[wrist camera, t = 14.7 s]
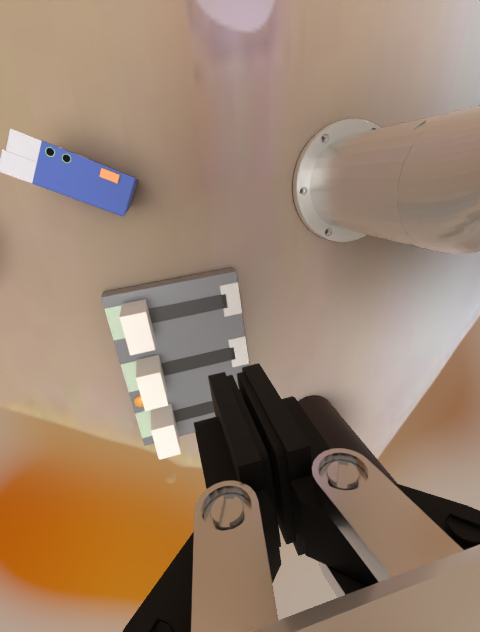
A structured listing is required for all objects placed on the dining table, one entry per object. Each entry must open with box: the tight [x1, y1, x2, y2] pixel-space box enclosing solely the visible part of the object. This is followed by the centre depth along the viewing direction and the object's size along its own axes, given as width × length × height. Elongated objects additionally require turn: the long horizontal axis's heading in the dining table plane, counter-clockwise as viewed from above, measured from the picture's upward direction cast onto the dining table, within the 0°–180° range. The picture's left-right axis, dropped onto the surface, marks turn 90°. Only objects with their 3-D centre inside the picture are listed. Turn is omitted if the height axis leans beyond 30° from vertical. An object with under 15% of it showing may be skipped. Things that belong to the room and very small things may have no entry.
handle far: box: [150, 404, 181, 460], centre depth 40 cm, size 2×4×4 cm, turn 8°
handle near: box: [120, 299, 155, 355], centre depth 35 cm, size 2×4×4 cm, turn 8°
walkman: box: [0, 129, 138, 217], centre depth 28 cm, size 8×3×12 cm, turn 68°
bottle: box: [298, 396, 397, 484], centre depth 41 cm, size 7×7×20 cm
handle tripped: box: [136, 355, 168, 411], centre depth 38 cm, size 2×4×4 cm, turn 8°
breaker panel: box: [101, 268, 249, 445], centre depth 41 cm, size 14×19×2 cm
